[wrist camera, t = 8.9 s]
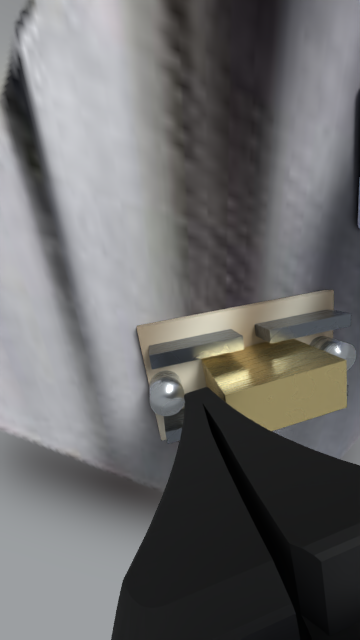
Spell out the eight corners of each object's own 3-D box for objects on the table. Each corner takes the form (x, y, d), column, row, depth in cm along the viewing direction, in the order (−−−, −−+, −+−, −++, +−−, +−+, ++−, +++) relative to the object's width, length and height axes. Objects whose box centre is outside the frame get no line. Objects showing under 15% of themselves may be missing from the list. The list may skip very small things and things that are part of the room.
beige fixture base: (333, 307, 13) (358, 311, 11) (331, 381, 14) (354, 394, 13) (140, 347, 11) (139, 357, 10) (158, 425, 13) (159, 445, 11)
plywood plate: (325, 289, 13) (333, 290, 13) (324, 391, 15) (331, 396, 14) (137, 325, 12) (136, 328, 11) (160, 433, 14) (161, 440, 13)
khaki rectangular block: (287, 335, 13) (346, 360, 9) (290, 370, 13) (346, 407, 10) (201, 358, 12) (224, 395, 8) (208, 394, 13) (233, 443, 9)
